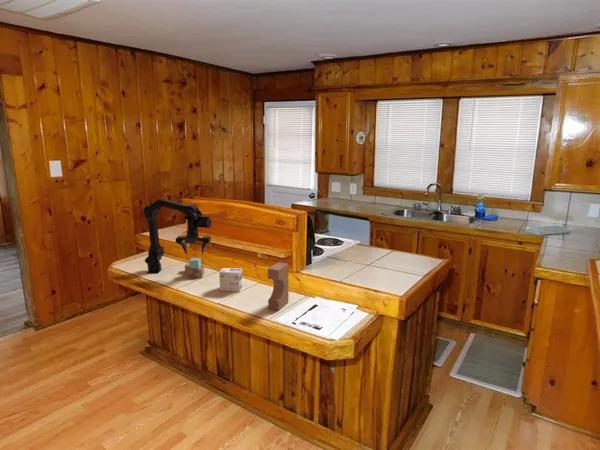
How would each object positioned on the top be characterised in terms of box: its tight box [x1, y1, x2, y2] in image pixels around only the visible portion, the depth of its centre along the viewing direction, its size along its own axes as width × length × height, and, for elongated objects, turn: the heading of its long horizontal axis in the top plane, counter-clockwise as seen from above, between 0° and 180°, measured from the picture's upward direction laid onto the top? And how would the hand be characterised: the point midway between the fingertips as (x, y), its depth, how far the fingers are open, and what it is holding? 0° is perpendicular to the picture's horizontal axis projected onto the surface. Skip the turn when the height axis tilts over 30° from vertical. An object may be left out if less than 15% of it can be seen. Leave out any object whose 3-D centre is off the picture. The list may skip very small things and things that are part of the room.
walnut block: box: [186, 264, 205, 279], centre depth 228 cm, size 8×8×5 cm
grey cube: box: [184, 262, 190, 274], centre depth 235 cm, size 4×4×4 cm
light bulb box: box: [218, 267, 244, 293], centre depth 209 cm, size 11×7×11 cm, turn 84°
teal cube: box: [188, 257, 202, 269], centre depth 227 cm, size 5×5×5 cm
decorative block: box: [267, 261, 289, 312], centre depth 189 cm, size 11×6×20 cm, turn 154°
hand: (194, 254), depth 226 cm, fingers open, 9 cm apart
